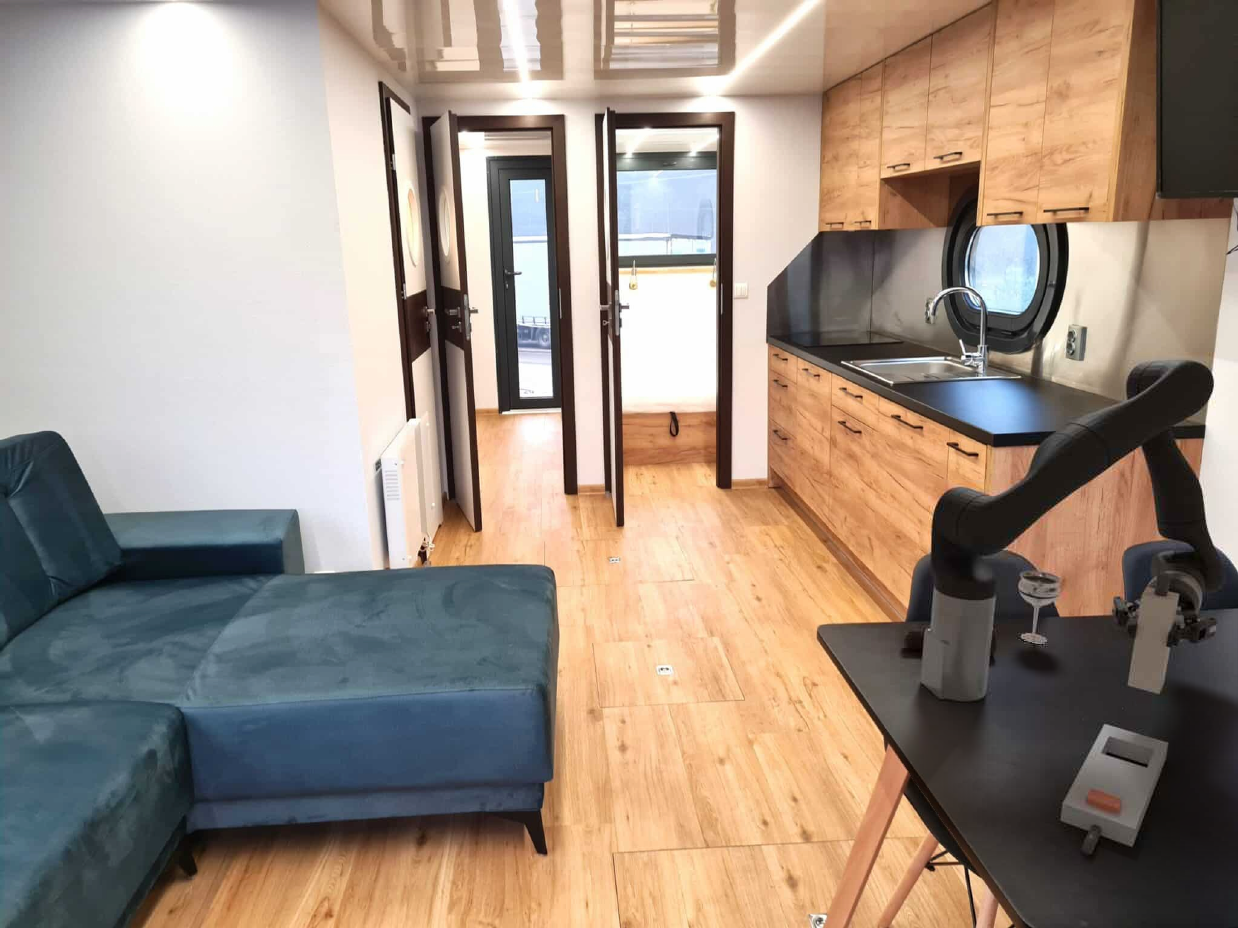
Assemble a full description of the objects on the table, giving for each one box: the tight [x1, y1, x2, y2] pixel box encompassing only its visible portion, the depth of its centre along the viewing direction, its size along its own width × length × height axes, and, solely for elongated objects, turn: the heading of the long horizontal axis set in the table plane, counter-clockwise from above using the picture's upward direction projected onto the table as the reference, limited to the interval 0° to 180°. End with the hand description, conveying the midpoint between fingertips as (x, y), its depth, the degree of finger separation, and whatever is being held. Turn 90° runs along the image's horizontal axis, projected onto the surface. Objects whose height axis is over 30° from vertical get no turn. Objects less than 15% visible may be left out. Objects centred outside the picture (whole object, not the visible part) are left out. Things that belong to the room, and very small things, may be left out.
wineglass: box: [1017, 570, 1062, 645], centre depth 161 cm, size 7×7×12 cm
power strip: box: [1059, 723, 1169, 856], centre depth 116 cm, size 29×8×3 cm, turn 141°
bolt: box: [903, 625, 997, 657], centre depth 157 cm, size 6×5×15 cm
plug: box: [1127, 572, 1179, 695], centre depth 127 cm, size 4×4×17 cm
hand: (1151, 636), depth 124 cm, fingers closed on plug, 4 cm apart
